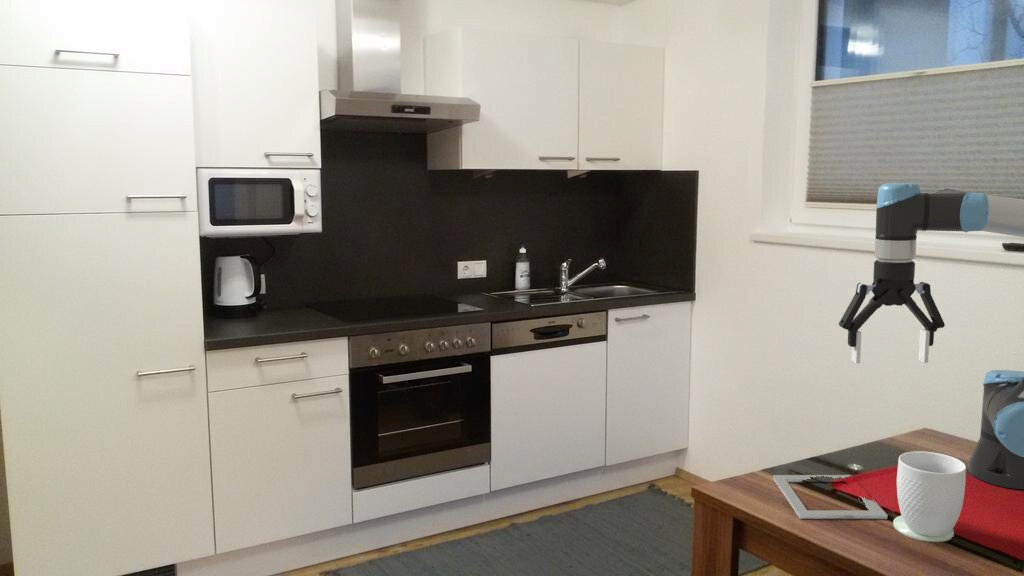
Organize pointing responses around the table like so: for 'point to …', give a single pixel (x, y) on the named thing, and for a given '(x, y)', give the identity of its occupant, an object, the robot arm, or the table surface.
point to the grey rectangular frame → (803, 513)
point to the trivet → (905, 530)
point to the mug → (930, 491)
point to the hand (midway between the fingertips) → (889, 361)
